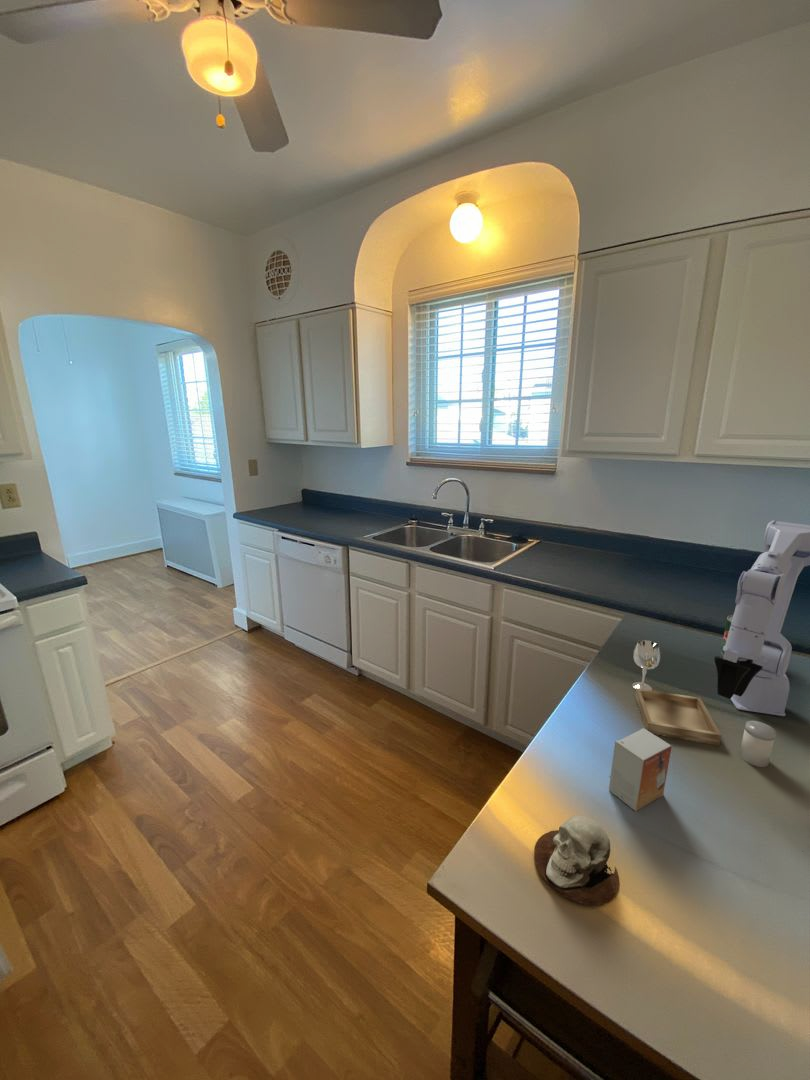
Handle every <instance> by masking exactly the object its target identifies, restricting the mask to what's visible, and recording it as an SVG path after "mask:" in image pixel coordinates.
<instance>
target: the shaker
mask: <svg viewBox="0 0 810 1080" xmlns="http://www.w3.org/2000/svg"><path fill="white" fill-rule="evenodd" d="M776 734H777V732H776V730H775V729H774V728H773V727H772V726H770V725H769V724H766V723H764V722H761V721H757V720H747V721H746V722H745V726H744V731H743V736H742V739H741V746H740V750H739V756H740V758H741V759H742V760H744V761H745V762H746V763H748V764H750V765H752V766H754V767H757V768H758V767H759V768H765V767H768V766H769V764H770V759H771V754H772V751H773V747H774V742H775V739H776Z"/></svg>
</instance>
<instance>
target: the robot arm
mask: <svg viewBox="0 0 810 1080" xmlns="http://www.w3.org/2000/svg"><path fill="white" fill-rule="evenodd" d="M763 543H764V546H763V548H764V552H762V553H760V554H759V555H758V557H757V559H756V560H755V562H754V563H753V564H752V566H751V568H750V569H748V570H747V571H745V570H743V571H742V573H741V574H740V576H739V578H738V582H737V589H736V590H737V591H736V597H735V600H734V603H735V604H736V605H735V608H734V612H733V614H732V615H733V619H732V622H731V625H732V626H730V630H729V633H728V637H727V640H726V644H725V646H724V647H723V650H724V651H725V653H724V656H723V657H721V656H719V655H715V656H714V664H715V667H716V672H717V695H719V696H722V697H724V698H726V699H730V701H731V702H732V703H733V705H734V707H735V709H737V710H739V711H740V710H741V711H746V712H754V713H760V714H764V715H765V714H766V715H773V716H779V717H786V715H787V714H786V712H785V711H786V708H787V707H786V706H787V702H788V698H789V694H790V688H791V687H790V681H789V677H788V676H787V674H786V672H787V669H788V667H789V664H790V660H791V653H792V651H793V650H792V649H793V647H792V644H791V643H790V641H789V640H788V639H787V638H786V637H785V636H784V635H783V634H782V633H781V632H782V628H783V625H784V622H785V618H786V615H787V612H788V609H789V607H790V602H791V599H792V595H793V593H794V591H795V586H796V583H797V580H798V577H799V576H800V574H801V572H802V570H803V569H804V567H808V566H810V524H802V523H795V522H794V523H793V522H787V521H786V522H785V521H777V520H774V519H773V520H771V521H770V522H768V523H767V526H766V528H765V531H764V536H763Z"/></svg>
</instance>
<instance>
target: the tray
mask: <svg viewBox="0 0 810 1080" xmlns="http://www.w3.org/2000/svg"><path fill="white" fill-rule="evenodd" d="M634 699H636V700H635V703H636V702H637V703H636V705H638V706H637V708H639V709H638V712H639V711H640V712H639V715H640V714H641V715H640V718H641V720H642V724H643V728H644V729H646V730H647V731H649V732H651V733H652V734H659V735H658V736H660V735H665V736H664V737H666V736H669V737H668V738H672V737H675V738H674V739H677V738H680V740H683V739H684V741H689V740H690V742H696V743H701V744H707V745H713V746H720V745H721V741H722V734H721V731H720V730H719V729H718V726H717V725H716V723H715V722H714V719H713V717H712V716H711V714H710V712H709V711H708V709H707V707H706V705H705V704H704V702H703V701H702V698H701V697H697V696H692V695H691V696H690V695H684V694H678V693H671V692H665V691H664V692H663V691H658V690H652V691H651V690H644V689H638V688H636V689H635V693H634Z"/></svg>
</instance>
